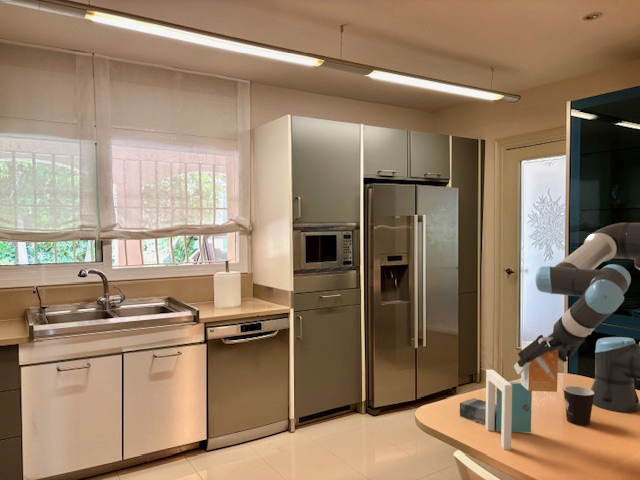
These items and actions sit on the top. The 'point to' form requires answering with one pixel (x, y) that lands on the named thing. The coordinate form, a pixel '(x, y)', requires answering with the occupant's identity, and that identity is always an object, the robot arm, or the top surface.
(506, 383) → the door frame
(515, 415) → the door leaf
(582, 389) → the coffee mug
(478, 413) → the stone block
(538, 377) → the small box
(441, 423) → the top surface
